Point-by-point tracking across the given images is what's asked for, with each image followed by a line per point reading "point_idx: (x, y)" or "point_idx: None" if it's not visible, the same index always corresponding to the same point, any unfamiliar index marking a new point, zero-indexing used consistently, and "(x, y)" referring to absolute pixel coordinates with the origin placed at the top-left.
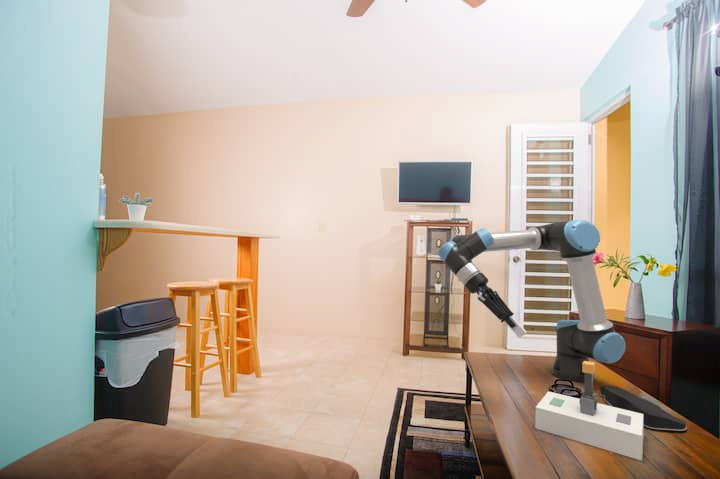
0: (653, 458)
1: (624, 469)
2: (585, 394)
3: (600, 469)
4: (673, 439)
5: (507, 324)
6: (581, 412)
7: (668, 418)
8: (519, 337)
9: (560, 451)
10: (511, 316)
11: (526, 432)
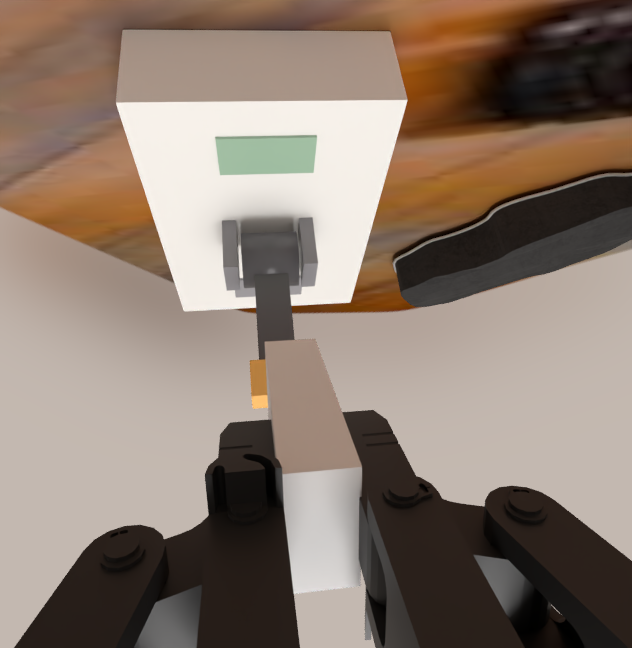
0: None
1: (99, 242)
2: (254, 281)
3: (37, 214)
4: (364, 281)
5: (274, 438)
6: (222, 224)
7: (414, 303)
8: (265, 348)
9: (22, 135)
10: (309, 584)
11: (37, 5)
